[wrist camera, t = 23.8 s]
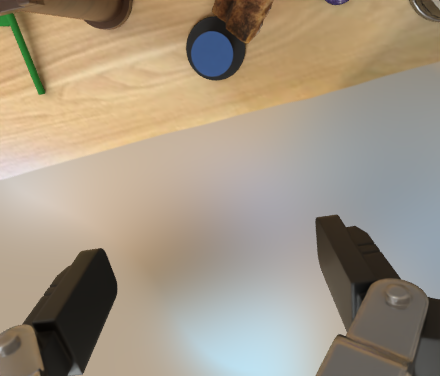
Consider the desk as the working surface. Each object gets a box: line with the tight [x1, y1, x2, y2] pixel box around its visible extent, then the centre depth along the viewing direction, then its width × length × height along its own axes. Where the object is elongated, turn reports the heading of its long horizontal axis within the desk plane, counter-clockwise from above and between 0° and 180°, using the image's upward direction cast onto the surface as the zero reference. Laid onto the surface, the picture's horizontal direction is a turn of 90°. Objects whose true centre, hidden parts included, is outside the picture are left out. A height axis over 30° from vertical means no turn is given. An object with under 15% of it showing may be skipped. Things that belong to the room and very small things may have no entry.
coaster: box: [186, 16, 245, 80], centre depth 39 cm, size 7×7×1 cm
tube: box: [191, 31, 233, 77], centre depth 34 cm, size 12×4×4 cm
